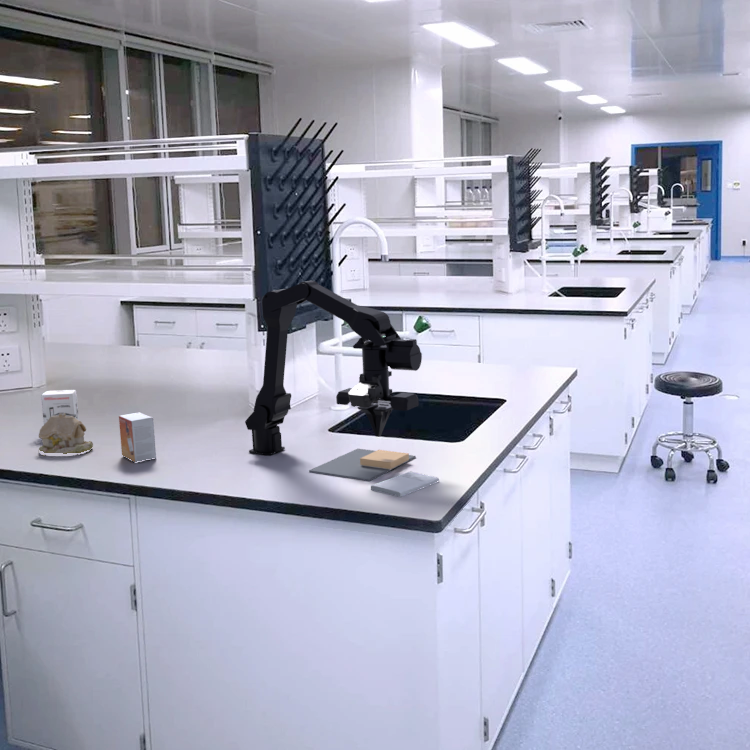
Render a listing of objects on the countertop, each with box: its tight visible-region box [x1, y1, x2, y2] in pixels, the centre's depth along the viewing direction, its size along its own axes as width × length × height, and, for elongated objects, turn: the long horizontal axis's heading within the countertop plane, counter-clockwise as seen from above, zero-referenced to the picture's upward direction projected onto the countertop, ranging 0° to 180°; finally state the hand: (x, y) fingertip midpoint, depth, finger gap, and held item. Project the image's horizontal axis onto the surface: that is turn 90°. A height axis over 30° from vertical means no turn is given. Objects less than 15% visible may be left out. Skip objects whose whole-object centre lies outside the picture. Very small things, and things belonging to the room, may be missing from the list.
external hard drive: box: [370, 470, 440, 498], centre depth 187 cm, size 2×8×12 cm
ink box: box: [40, 389, 80, 425], centre depth 244 cm, size 9×5×12 cm, turn 95°
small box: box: [118, 411, 157, 462], centre depth 216 cm, size 8×6×10 cm
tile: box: [360, 449, 410, 471], centre depth 202 cm, size 2×8×8 cm
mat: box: [308, 448, 417, 482], centre depth 204 cm, size 16×20×1 cm
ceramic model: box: [38, 413, 94, 454], centre depth 225 cm, size 14×11×10 cm
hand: (378, 436), depth 203 cm, fingers closed
